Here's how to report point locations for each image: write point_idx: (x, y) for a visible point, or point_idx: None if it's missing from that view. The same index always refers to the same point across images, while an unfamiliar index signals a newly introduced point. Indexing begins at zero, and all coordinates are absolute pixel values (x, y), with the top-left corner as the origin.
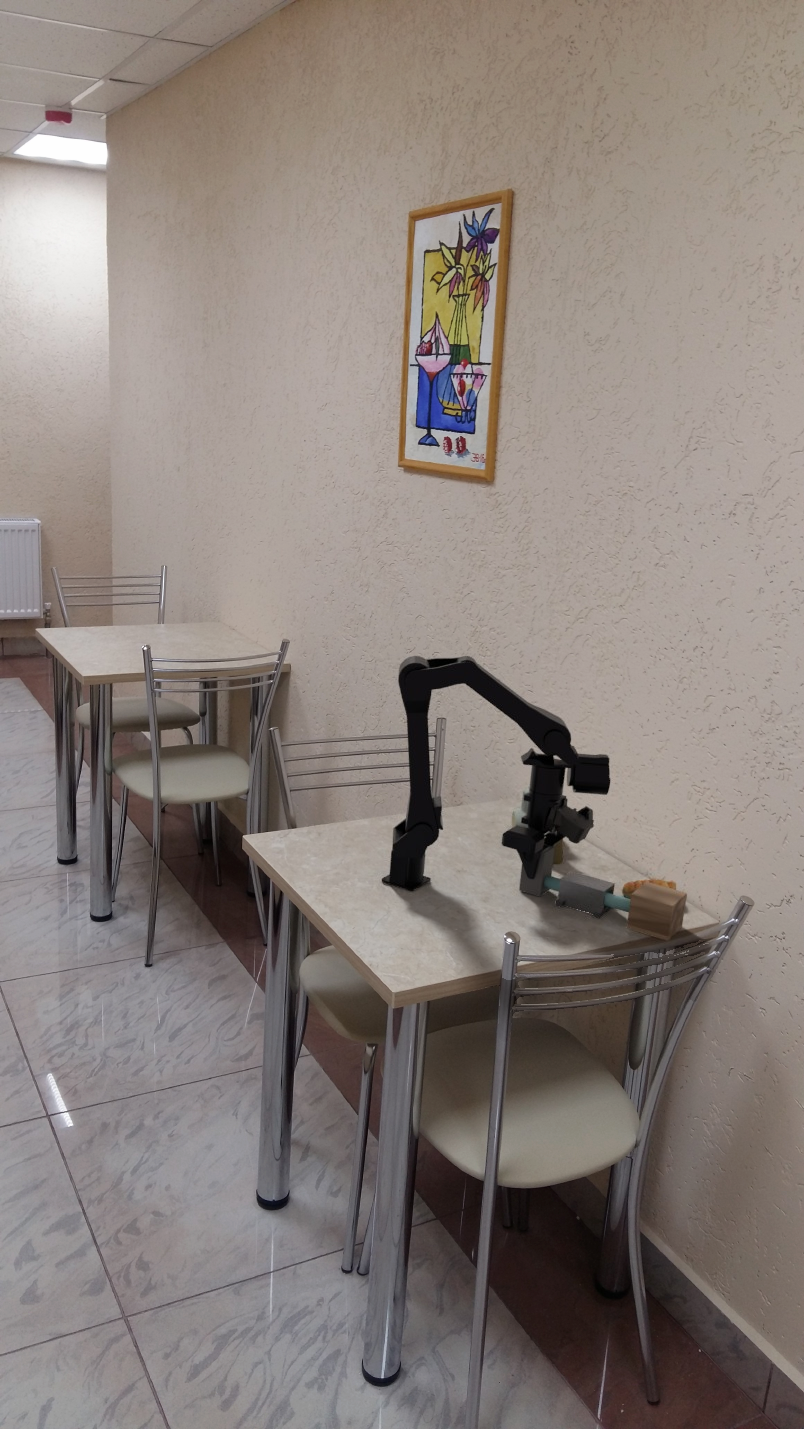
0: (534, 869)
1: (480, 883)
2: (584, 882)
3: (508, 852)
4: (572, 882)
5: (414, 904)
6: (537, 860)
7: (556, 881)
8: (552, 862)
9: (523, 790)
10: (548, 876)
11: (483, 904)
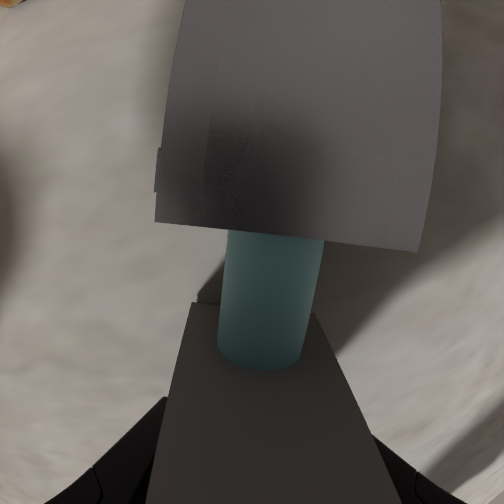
0: (386, 447)
1: None
2: (377, 28)
3: (18, 461)
4: (436, 131)
5: (466, 477)
6: (428, 491)
7: (308, 283)
8: (171, 420)
9: None
10: (272, 357)
11: (446, 416)
